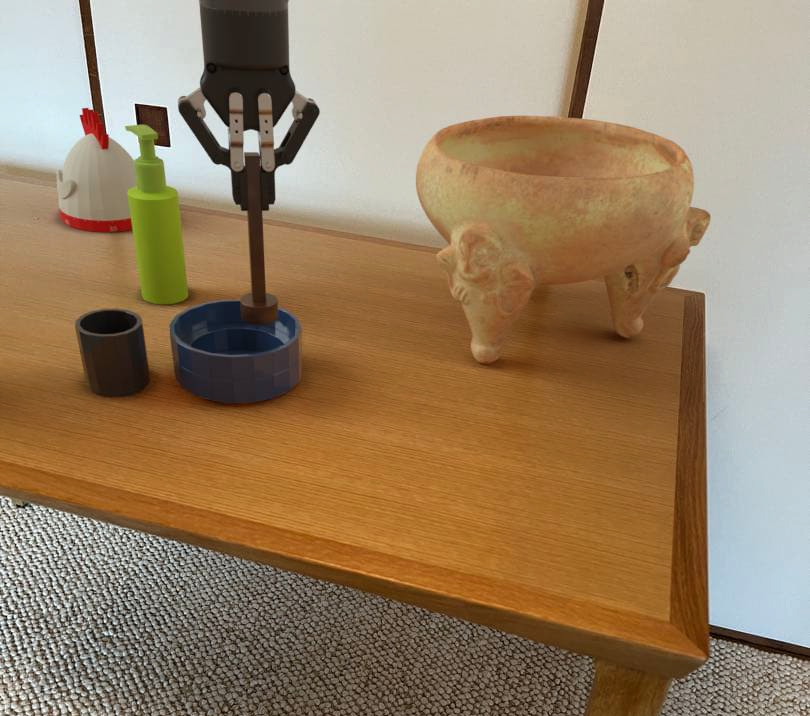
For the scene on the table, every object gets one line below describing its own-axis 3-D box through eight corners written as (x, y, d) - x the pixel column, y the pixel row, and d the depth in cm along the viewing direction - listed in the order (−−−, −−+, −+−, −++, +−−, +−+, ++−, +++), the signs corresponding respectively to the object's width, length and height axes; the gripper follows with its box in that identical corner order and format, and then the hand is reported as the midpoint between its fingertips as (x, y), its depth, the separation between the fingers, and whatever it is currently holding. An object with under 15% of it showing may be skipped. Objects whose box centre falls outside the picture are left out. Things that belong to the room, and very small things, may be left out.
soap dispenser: (173, 280, 111) (155, 119, 98) (195, 299, 106) (179, 133, 94) (131, 288, 108) (107, 123, 95) (153, 308, 104) (130, 138, 91)
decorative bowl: (589, 266, 126) (625, 101, 111) (709, 376, 100) (777, 180, 85) (374, 274, 117) (383, 96, 103) (445, 395, 92) (470, 182, 77)
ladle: (242, 325, 86) (232, 160, 75) (239, 309, 89) (228, 148, 78) (280, 324, 87) (275, 160, 76) (276, 308, 90) (270, 148, 79)
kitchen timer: (132, 197, 135) (118, 96, 125) (169, 223, 127) (157, 117, 117) (47, 209, 128) (26, 103, 118) (81, 237, 120) (61, 126, 110)
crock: (85, 398, 86) (72, 337, 81) (88, 368, 91) (77, 309, 86) (150, 395, 87) (141, 334, 83) (150, 365, 92) (141, 307, 88)
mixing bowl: (177, 411, 85) (170, 359, 81) (174, 349, 95) (168, 301, 92) (310, 404, 88) (309, 353, 84) (293, 344, 99) (292, 297, 95)
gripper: (316, -2, 74) (316, 196, 85) (161, -10, 71) (182, 196, 82) (330, 11, 68) (328, 220, 79) (161, 3, 65) (184, 222, 76)
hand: (254, 207), depth 81 cm, fingers closed on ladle, 1 cm apart
